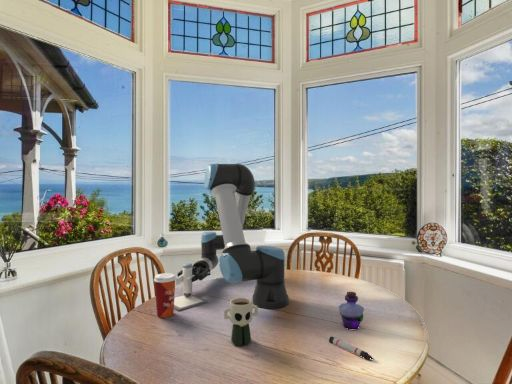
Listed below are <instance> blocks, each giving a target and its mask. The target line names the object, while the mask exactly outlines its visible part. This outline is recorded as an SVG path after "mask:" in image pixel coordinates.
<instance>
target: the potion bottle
mask: <svg viewBox="0 0 512 384" xmlns="http://www.w3.org/2000/svg"><path fill="white" fill-rule="evenodd" d="M344 300H345V301H346V302H344V303H340V305H338V311H339V315H340V317H341V320H342V327H343V326H344V327H345V328H348V329H347V330H349V329H358V327H360V324H361V322H363V319H364V316H365V315H364V311H365V307H364V306H362V305H360V304H357V302H358V301H359V296H357V293H356V292H355V291H347V292H346V294H345V296H344ZM344 327H343V328H344ZM345 328H344V329H345ZM358 330H359V329H358Z"/></svg>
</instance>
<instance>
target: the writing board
mask: <svg viewBox="0 0 512 384" xmlns="http://www.w3.org/2000/svg"><path fill="white" fill-rule="evenodd" d="M207 303H209V300H206V299H204V298H202V297H199V296H197V295H195V294H193V293H191V296H188V297H186V296H184V294H181V295H180V294H179V295H177V296H174V311H177V312H180V311H184V310H187V309H190V308H194V307H198V306H200V305H204V304H207Z"/></svg>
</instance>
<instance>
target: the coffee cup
mask: <svg viewBox="0 0 512 384" xmlns="http://www.w3.org/2000/svg"><path fill="white" fill-rule="evenodd" d="M176 278H177V277H176V275H175V274H174V273H171V272H164V273H163V272H162V273H158V274H155V276H154V279H153V282H154V291H155V293H154V294H155V304H156V314H157V315H156V317H158V318H162V319H167V318H170V317H172V316H173V315H174V311H175V309H174V297H176V296H175V295H176V294H175V291H176V290H175V289H176Z"/></svg>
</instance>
